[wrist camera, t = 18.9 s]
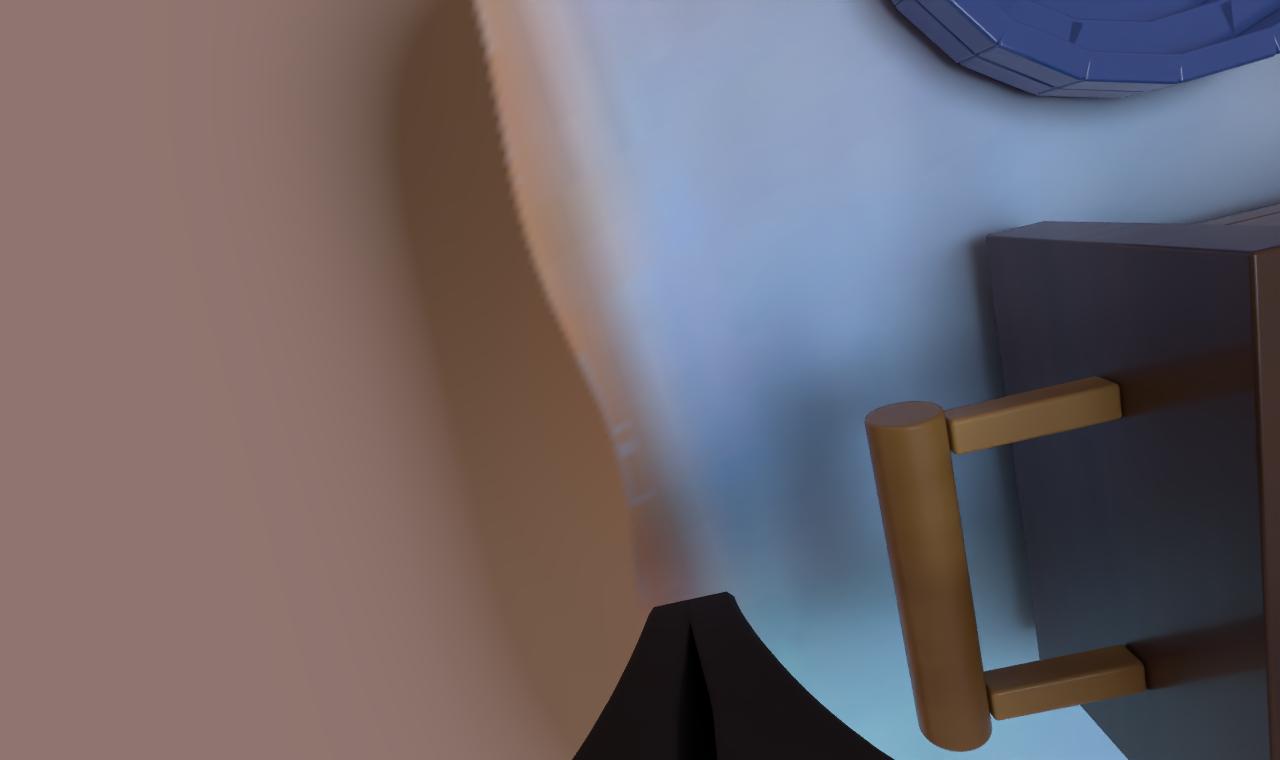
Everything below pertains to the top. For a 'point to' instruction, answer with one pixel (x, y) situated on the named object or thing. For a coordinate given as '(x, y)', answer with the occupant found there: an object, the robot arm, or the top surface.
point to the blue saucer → (1099, 40)
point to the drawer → (1111, 491)
